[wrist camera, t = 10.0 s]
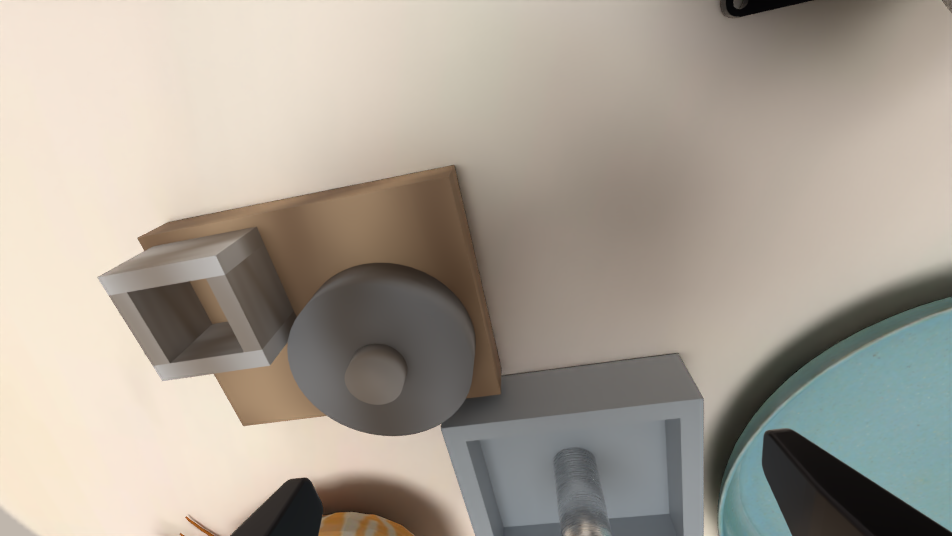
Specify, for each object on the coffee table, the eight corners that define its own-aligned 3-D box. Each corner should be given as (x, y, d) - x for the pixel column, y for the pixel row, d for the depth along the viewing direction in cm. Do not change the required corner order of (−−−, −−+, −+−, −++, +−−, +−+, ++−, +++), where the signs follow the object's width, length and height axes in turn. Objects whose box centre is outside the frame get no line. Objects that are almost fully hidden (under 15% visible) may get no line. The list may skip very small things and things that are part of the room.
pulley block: (454, 165, 19) (438, 199, 15) (501, 368, 24) (500, 441, 20) (168, 222, 21) (78, 267, 17) (261, 400, 26) (210, 473, 22)
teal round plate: (1230, 493, 25) (1328, 553, 22) (791, 620, 33) (819, 677, 30) (1170, 135, 18) (1306, 152, 15) (618, 406, 25) (633, 454, 22)
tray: (678, 353, 23) (703, 398, 20) (682, 511, 28) (703, 566, 25) (448, 382, 25) (440, 428, 22) (491, 526, 30) (489, 579, 27)
